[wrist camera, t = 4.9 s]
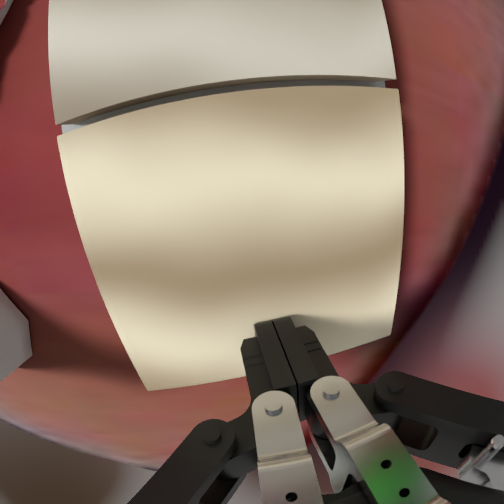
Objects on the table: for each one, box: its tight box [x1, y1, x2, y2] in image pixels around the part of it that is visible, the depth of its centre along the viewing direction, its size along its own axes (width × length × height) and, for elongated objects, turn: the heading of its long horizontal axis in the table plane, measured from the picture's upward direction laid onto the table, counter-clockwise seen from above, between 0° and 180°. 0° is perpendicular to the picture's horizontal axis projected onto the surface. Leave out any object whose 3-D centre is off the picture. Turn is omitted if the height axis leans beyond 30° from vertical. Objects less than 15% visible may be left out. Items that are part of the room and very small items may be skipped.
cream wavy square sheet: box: [57, 86, 404, 391], centre depth 11 cm, size 11×12×2 cm
